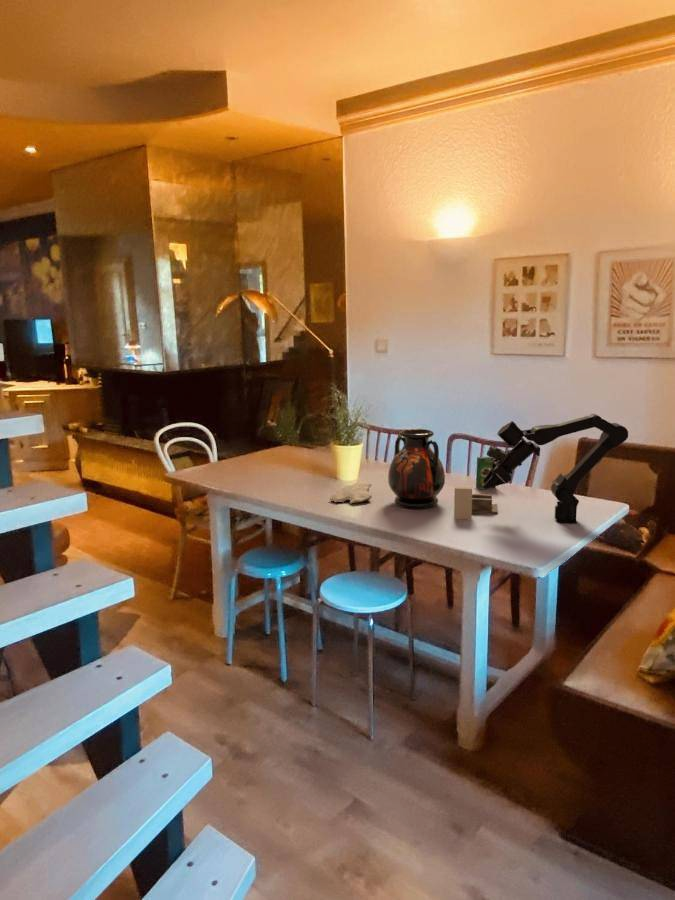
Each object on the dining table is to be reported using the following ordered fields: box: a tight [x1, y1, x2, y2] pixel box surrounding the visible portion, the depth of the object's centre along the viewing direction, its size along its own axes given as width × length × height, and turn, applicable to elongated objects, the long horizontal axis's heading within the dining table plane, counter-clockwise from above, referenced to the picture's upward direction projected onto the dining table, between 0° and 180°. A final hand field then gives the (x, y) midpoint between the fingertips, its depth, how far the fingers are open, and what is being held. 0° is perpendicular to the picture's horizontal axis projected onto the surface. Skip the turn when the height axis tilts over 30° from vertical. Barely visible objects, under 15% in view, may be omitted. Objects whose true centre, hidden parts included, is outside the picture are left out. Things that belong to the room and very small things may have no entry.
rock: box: [329, 480, 373, 505], centre depth 262 cm, size 21×5×15 cm
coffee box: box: [475, 456, 497, 490], centre depth 273 cm, size 8×3×13 cm, turn 106°
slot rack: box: [472, 493, 498, 515], centre depth 245 cm, size 14×10×5 cm
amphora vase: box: [387, 428, 446, 510], centre depth 251 cm, size 22×22×28 cm
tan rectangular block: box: [453, 485, 473, 520], centre depth 235 cm, size 6×3×11 cm, turn 78°
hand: (484, 485), depth 232 cm, fingers open, 9 cm apart
